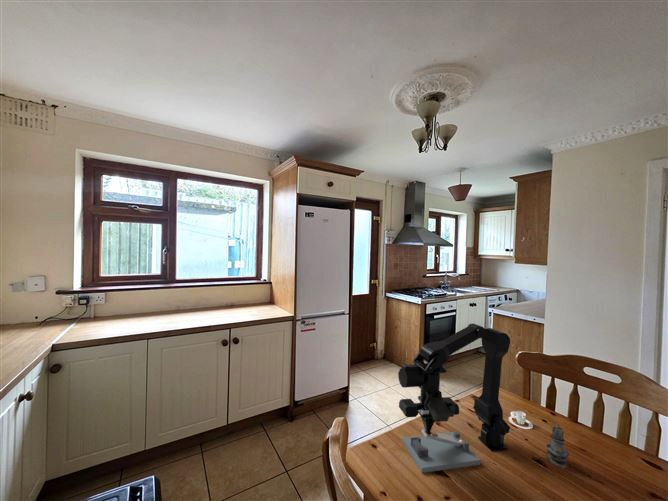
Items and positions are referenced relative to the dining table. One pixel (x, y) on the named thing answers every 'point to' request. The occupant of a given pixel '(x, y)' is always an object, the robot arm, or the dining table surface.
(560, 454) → the grey tiered tower figurine
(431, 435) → the light grey long bar
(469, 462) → the base plate
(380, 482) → the dining table surface
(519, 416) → the teacup and saucer
